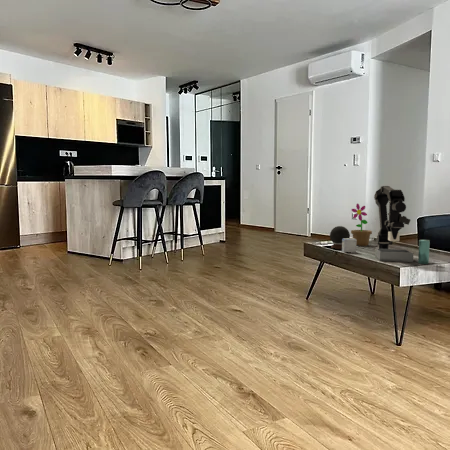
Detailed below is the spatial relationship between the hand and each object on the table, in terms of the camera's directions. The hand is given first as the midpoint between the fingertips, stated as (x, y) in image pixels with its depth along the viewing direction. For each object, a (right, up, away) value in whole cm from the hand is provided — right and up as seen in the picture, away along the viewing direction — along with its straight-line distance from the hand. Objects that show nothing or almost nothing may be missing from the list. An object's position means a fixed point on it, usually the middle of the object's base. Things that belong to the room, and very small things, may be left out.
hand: (393, 238), depth 240 cm
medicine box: (-18, -10, +27) cm, 33 cm away
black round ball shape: (-18, -8, +46) cm, 50 cm away
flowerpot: (+2, -7, +63) cm, 63 cm away
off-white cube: (0, -1, 0) cm, 1 cm away
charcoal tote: (0, -12, -1) cm, 12 cm away
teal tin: (+11, -13, -13) cm, 21 cm away
